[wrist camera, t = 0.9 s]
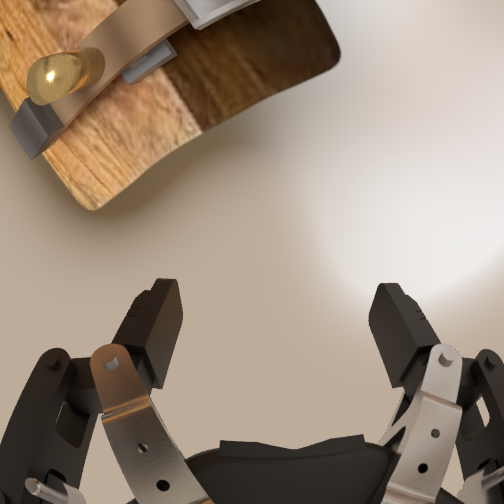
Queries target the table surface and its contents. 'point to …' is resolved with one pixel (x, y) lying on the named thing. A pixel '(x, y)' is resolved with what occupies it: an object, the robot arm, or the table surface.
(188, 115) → the table surface
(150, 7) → the seesaw
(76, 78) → the brass weight
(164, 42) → the beam stand
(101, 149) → the table surface
